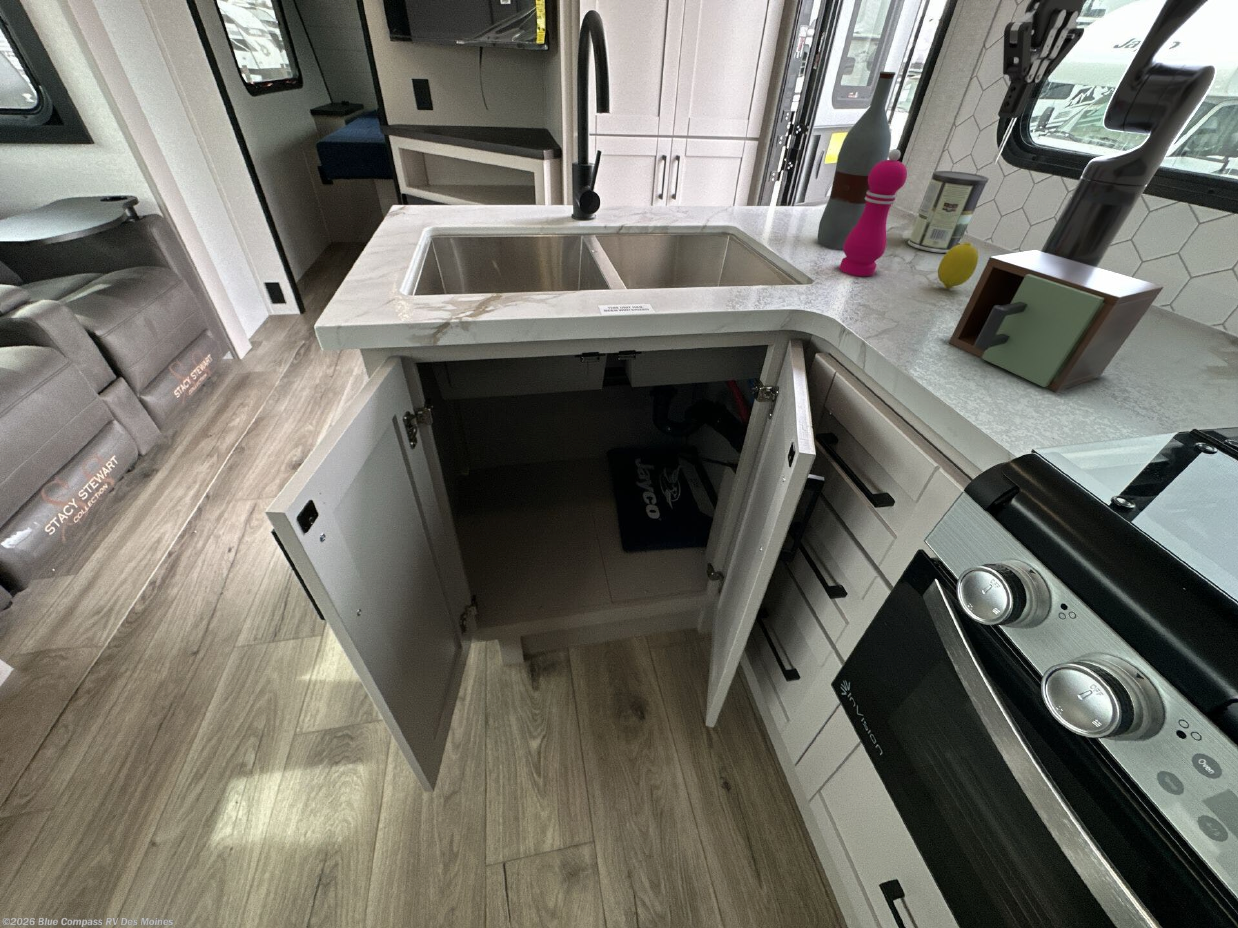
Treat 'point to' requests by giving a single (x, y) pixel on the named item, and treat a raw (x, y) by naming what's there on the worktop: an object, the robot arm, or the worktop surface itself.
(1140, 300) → the cabinet
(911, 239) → the coffee can
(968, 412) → the worktop surface
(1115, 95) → the robot arm
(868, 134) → the bottle
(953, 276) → the lemon
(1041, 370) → the door
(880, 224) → the pepper mill
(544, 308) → the worktop surface
